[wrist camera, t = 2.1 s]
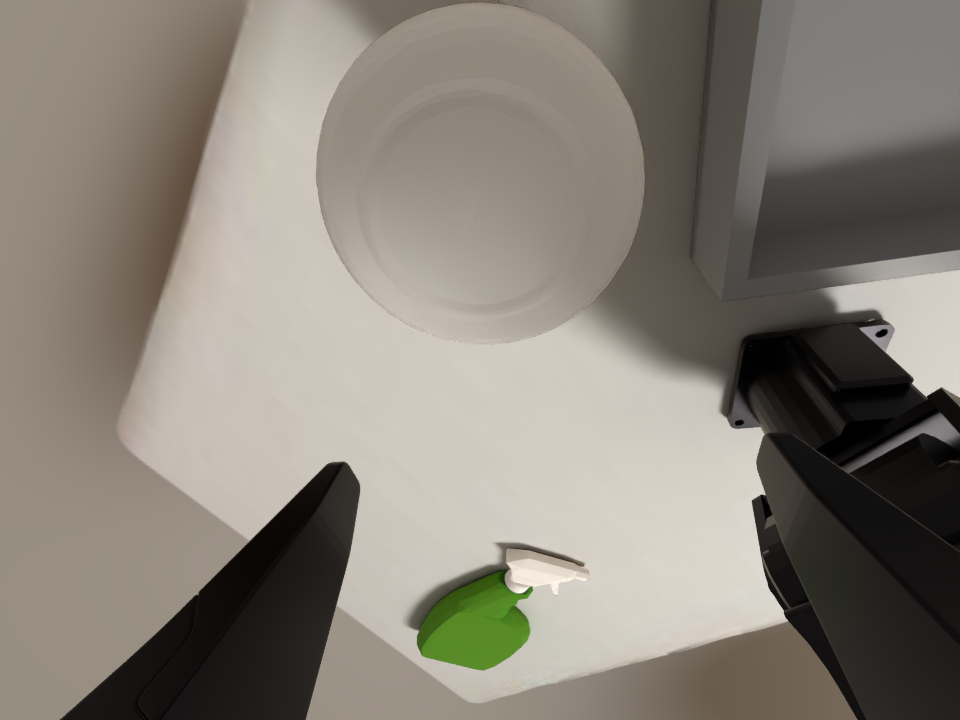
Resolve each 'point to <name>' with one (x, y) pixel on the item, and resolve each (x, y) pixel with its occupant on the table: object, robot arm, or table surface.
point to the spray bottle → (491, 612)
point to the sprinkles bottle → (480, 173)
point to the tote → (828, 144)
